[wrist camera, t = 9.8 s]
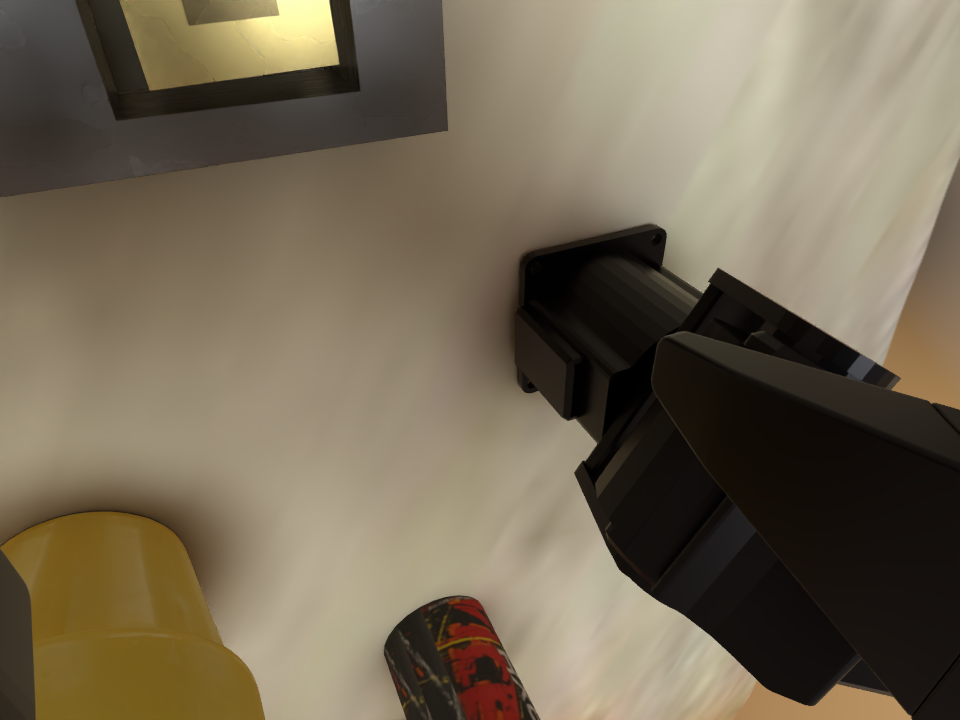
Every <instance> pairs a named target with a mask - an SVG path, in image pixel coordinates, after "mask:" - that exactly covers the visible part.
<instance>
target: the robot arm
mask: <svg viewBox="0 0 960 720" xmlns="http://www.w3.org/2000/svg"><path fill="white" fill-rule="evenodd" d="M654 235H655V238H654V239H653V240H652V238H653V237H654ZM666 238H667V233H666V231H665V230H664V229H662V228H661V227H659V226H657V225H648V226H644V227H640V228H635V229H631V230H626V231H622V232H618V233H613V234H609V235H604V236H600V237H596V238H591V239H587V240H582V241H578V242H573V243H569V244H565V245H560V246H556V247H551V248H547V249H543V250H538V251H534V252H531V253H528V254H527V255H526V256H525V257H523V259H522V261H521V264H520V291H519V307H518V309H517V311H516V314H515V363H516V365H517V366H518V385H519V386H520V387H521V389H522V390H523V391H524V392H525V393H533V392H536V391H540V393H541V394H542V395H543V396H544V397H545V398H546V400H547V401H548V402H549V403H550V404H551V405H552V407H553V408H554V409H555V410H556V411H557V412H558V414H559V415H560V416H561V417H562V418H564V419H566V420H567V421H570V420H573V419H576V420H577V421H578V422H579V423H580V424H581V425H582V427H583V428H584V429H585V430H586V431H587V432H588V433H589V434H590V436H591V437H592V438H593V439H594V440H595V441H596V442H597V445H596V447H595V448H594V450H593V451H592V453H591V454H590V455H589V457H588V458H587V460H586V461H582V462H581V464H580V465H579V467H578V468H577V469H576V471H575V472H574V473H575V476H576V478H577V480H578V483H579V485H580V487H581V489H582V492H583V494H584V496H585V498H586V501H587V503H588V505H589V507H590V509H591V512H592V514H593V516H594V518H595V521H596V523H597V525H598V527H599V530H600V532H601V534H602V536H603V539H604V541H605V543H606V545H607V547H608V549H609V551H610V553H611V555H612V556H613V558H614V560H615V562H616V565H617V567H618V568H619V570H620V571H621V572H622V573H624V574H625V575H626V576H628V577H629V578H631V580H632V581H633V582H635V583H636V584H637V585H638V586H639V587H640V588H642V589H643V590H644V591H645V592H646V593H648V594H649V595H651V596H652V597H653V598H655V599H656V600H658V601H659V602H661V603H663V604H665V605H667V606H668V607H670V608H672V609H675V610H676V611H678V612H680V613H681V614H683V615H685V616H686V617H687V618H688V619H690V620H691V621H692V622H694V623H695V624H696V625H697V626H699V627H700V628H701V629H703V630H704V631H705V632H707V633H708V634H709V635H710V636H712V637H713V638H714V639H715V640H716V641H717V642H718V643H719V644H720V645H721V646H722V647H724V648H725V649H726V650H727V651H728V652H729V653H730V654H731V655H732V656H733V657H734V658H735V659H736V660H737V661H738V662H739V663H740V664H741V665H742V666H743V667H744V668H745V669H746V670H747V671H748V672H750V673H751V674H752V675H753V676H754V677H755V678H756V679H757V680H758V681H759V682H760V683H761V684H762V685H763V686H764V687H765V688H767V689H768V690H770V691H772V692H774V693H777V694H779V695H782V696H784V697H787V698H789V699H792V700H794V701H796V702H799V703H801V704H804V705H808V706H814V705H816V704H817V703H818V702H819V701H820V700H821V699H822V698H823V697H824V696H825V695H826V694H827V693H828V692H829V691H830V690H831V689H832V688H833V687H834V686H835V685H836V684H840V685H844V686H848V687H853V688H857V689H862V690H866V691H870V692H875V693H879V694H883V695H888V696H892V697H894V698H895V699H896V700H897V701H898V703H899V704H900V705H901V706H902V708H903V709H904V710H905V711H906V712H907V714H909V715H911V716H912V717H911V718H912V720H960V410H958V409H955V408H952V407H948V406H945V405H941V404H938V403H932V404H931V403H930V402H929V401H927V400H923V399H920V398H917V397H913V396H910V395H906V394H902V393H899V392H896V391H892V390H891V389H892V388H893V387H894V386H895V385H896V383H897V382H898V381H899V380H900V379H901V378H900V377H899V376H897V375H895V374H894V373H892V372H890V371H889V370H887V369H885V368H884V367H882V366H881V365H879V364H877V363H876V362H874V361H872V360H871V359H869V358H868V357H866V356H864V355H863V354H861V353H859V352H858V351H856V350H854V349H853V348H851V347H850V346H848V345H846V344H845V343H843V342H841V341H840V340H838V339H836V338H835V337H833V336H831V335H830V334H828V333H826V332H825V331H823V330H821V329H820V328H818V327H816V326H815V325H813V324H811V323H810V322H808V321H806V320H805V319H803V318H802V317H800V316H798V315H797V314H795V313H793V312H792V311H790V310H788V309H787V308H785V307H783V306H782V305H780V304H778V303H776V302H775V301H773V300H771V299H770V298H768V297H766V296H765V295H763V294H761V293H760V292H758V291H756V290H755V289H753V288H751V287H750V286H748V285H746V284H745V283H743V282H741V281H739V280H738V279H736V278H734V277H733V276H731V275H729V274H728V273H726V272H724V271H723V270H721V269H719V268H717V270H716V271H715V273H714V274H713V275H712V277H711V278H710V280H709V281H708V282H710V285H709V286H708V288H707V289H706V290H705V292H704V293H702V292H700V291H699V290H697V289H696V288H694V287H692V286H691V285H689V284H688V283H686V282H685V281H683V280H682V279H680V278H679V277H677V276H676V275H674V274H673V273H671V272H670V271H668V270H667V269H665V268H664V267H662V262H663V256H664V250H665V244H666ZM651 240H652V241H651ZM536 262H538V263H537V266H536V267H535V268H534V269H532V270H531V266H532V265H533V264H534V263H536ZM529 381H531V382H529ZM528 382H529V383H528ZM0 720H36V702H35V679H34V657H33V634H32V611H31V598H30V594H29V590H28V588H27V585H26V583H25V582H24V580H23V579H22V577H21V576H20V575H19V573H18V572H17V570H16V569H15V568H14V566H13V565H12V564H11V562H10V561H9V559H8V558H7V557H6V555H5V554H4V552H3V551H2V550H1V548H0Z"/></svg>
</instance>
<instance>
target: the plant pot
mask: <svg viewBox="0 0 960 720" xmlns="http://www.w3.org/2000/svg"><path fill="white" fill-rule="evenodd" d="M0 548H1V550H2V551H3V552H4V554H5V555H6V557H7V558H8V559H9V561H10V562H11V564H12V565H13V566H14V568H15V569H16V570H17V572H18V573H19V575H20V576H21V577H22V579H23V580H24V582H25V583H26V585H27V588H28V590H29V594H30V598H31V611H32V634H33V657H34V679H35V702H36V720H265V717H264V712H263V707H262V703H261V698H260V694H259V691H258V687H257V684H256V681H255V679H254V677H253V674H252V673H251V671H250V670H249V668H248V667H247V666H246V664H245V663H244V662H243V661H242V660H241V659H240V658H239V657H238V656H237V655H236V654H234V653H233V652H232V651H231V650H229V649H228V648H226V647H224V645H223V642H222V640H221V637H220V635H219V633H218V630H217V628H216V625H215V623H214V620H213V618H212V615H211V613H210V610H209V608H208V605H207V603H206V600H205V597H204V595H203V592H202V590H201V587H200V585H199V582H198V580H197V577H196V574H195V571H194V569H193V566H192V564H191V561H190V558H189V556H188V553H187V551H186V549H185V547H184V545H183V543H182V542H181V540H180V539H179V538H178V537H177V536H176V535H175V533H174V532H173V531H171V530H170V529H168V528H167V527H165V526H164V525H162V524H160V523H158V522H156V521H154V520H151V519H148V518H146V517H142V516H138V515H132V514H127V513H120V512H86V513H78V514H72V515H67V516H63V517H58V518H55V519H52V520H49V521H46V522H43V523H41V524H38V525H36V526H34V527H31V528H29V529H27V530H25V531H23V532H22V533H20V534H18V535H17V536H15V537H13V538H12V539H10V540H9V541H7V542H6V543H5V544H4V545H3V546H1V547H0Z"/></svg>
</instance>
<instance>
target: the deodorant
mask: <svg viewBox="0 0 960 720" xmlns="http://www.w3.org/2000/svg"><path fill="white" fill-rule="evenodd" d="M384 656H385V658H386V661H387V664H388V667H389V670H390V673H391V676H392V679H393V681H394V684H395V687H396V690H397V693H398V696H399V699H400V702H401V705H402V707H403V710H404V713H405V716H406V719H407V720H540V718H539V716H538V714H537V712H536V710H535V708H534V706H533V704H532V702H531V700H530V698H529V697H528V695H527V693H526V691H525V689H524V687H523V685H522V683H521V681H520V679H519V677H518V675H517V673H516V671H515V669H514V667H513V665H512V663H511V661H510V659H509V657H508V656H507V654H506V652H505V650H504V648H503V646H502V644H501V642H500V640H499V638H498V636H497V634H496V632H495V630H494V628H493V626H492V624H491V622H490V620H489V618H488V616H487V614H486V613H485V611H484V609H483V607H482V605H481V604H480V603H479V602H478V601H477V600H475V599H473V598H471V597H466V596H453V597H446V598H443V599H440V600H436V601H433V602H431V603H429V604H427V605H425V606H423V607H421V608H419V609H417V610H416V611H414V612H413V613H411V614H410V615H408V616H407V617H406V618H405V619H404V620H403V621H402V622H400V623H399V624H398V625H397V626H396V627H395V629H394V630H393V631H392V633H391V634H390V635H389V637H388V639H387V642H386V644H385V649H384Z"/></svg>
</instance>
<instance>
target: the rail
mask: <svg viewBox="0 0 960 720" xmlns="http://www.w3.org/2000/svg"><path fill="white" fill-rule="evenodd" d="M329 3H330V10H331V16H332V22H333V28H334V34H335V40H336V46H337V52H338V58H339V64H338V65H331V68H332V69H325V70H316V71H307V72H297V73H288V74H279V75H270V76H260V77H251V78H242V79H233V80H224V81H217V82H210V83H202V84H195V85H188V86H181V87H174V88H167V89H160V90H152V91H150V90H149V89H140V90H131V91H122V92H117V89H116V86H115V83H114V80H113V77H112V74H111V71H110V68H109V65H108V62H107V59H106V56H105V53H104V50H103V47H102V44H101V41H100V38H99V35H98V32H97V29H96V26H95V23H94V20H93V17H92V14H91V11H90V8H89V5H88V2H87V0H0V197H6V196H13V195H19V194H26V193H33V192H39V191H46V190H53V189H60V188H66V187H73V186H80V185H86V184H93V183H100V182H106V181H113V180H120V179H127V178H133V177H140V176H147V175H153V174H160V173H167V172H174V171H180V170H187V169H194V168H200V167H207V166H214V165H220V164H227V163H234V162H241V161H247V160H254V159H261V158H267V157H274V156H281V155H287V154H294V153H301V152H308V151H314V150H321V149H328V148H334V147H341V146H348V145H354V144H361V143H368V142H375V141H381V140H388V139H395V138H401V137H408V136H415V135H422V134H428V133H435V132H442V131H448V121H447V100H446V79H445V58H444V37H443V16H442V0H329Z"/></svg>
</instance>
